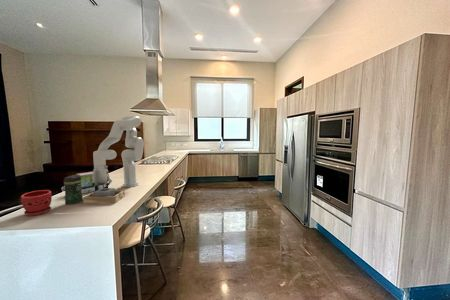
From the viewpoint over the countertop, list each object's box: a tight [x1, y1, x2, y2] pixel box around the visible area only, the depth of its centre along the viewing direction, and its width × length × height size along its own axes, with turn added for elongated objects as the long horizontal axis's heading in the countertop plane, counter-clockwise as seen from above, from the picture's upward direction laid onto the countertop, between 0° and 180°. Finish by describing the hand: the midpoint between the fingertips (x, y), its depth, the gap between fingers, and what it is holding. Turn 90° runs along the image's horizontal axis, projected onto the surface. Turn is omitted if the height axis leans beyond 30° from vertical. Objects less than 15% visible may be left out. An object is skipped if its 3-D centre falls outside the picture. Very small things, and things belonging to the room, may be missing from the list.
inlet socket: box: [93, 187, 116, 197], centre depth 139 cm, size 9×9×7 cm
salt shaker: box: [98, 183, 105, 190], centre depth 152 cm, size 5×5×10 cm
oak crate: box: [82, 190, 125, 205], centre depth 140 cm, size 14×20×5 cm
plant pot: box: [20, 189, 53, 217], centre depth 120 cm, size 13×13×12 cm
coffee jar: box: [63, 174, 83, 206], centre depth 136 cm, size 10×8×19 cm
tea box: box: [75, 171, 95, 195], centre depth 164 cm, size 15×10×15 cm, turn 143°
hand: (101, 191), depth 152 cm, fingers open, 6 cm apart
